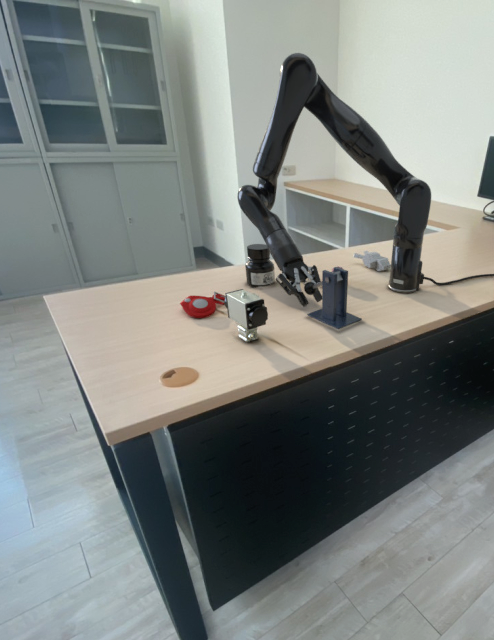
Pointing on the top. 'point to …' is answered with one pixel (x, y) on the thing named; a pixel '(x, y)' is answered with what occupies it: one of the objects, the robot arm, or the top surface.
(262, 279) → the ink bottle
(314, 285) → the clamp handle
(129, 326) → the top surface
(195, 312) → the tracker holder
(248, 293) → the pneumatic valve
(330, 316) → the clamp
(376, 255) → the bunny figurine
